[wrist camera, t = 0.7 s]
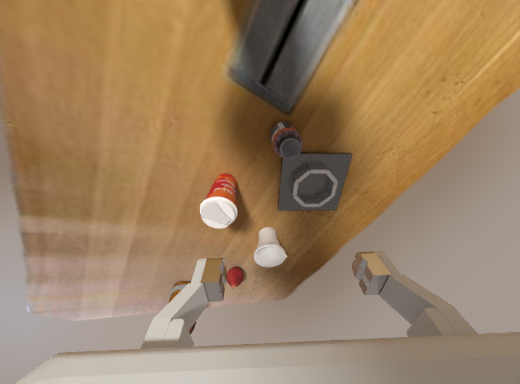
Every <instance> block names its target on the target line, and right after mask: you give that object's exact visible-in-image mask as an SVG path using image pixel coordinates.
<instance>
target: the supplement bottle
mask: <svg viewBox="0 0 520 384" xmlns="http://www.w3.org/2000/svg"><path fill="white" fill-rule="evenodd" d="M270 139H271V142H272V146H273V149H274V151H275V153H276V154H277V155H278V156H279V157H281V158H284V159H294V158H296V157H297V156H298V155H299V154H300V152H301V150H302V147H303V138H302V136H301V134H300V133H299V132H298V131H297V129H296V128H295V127H294V126H293V125H292V124H291V123H289V122H286V121H280V122H278V123H276V124H275V125H274V126H273V127H272V129H271V131H270Z"/></svg>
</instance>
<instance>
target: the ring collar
mask: <svg viewBox="0 0 520 384" xmlns="http://www.w3.org/2000/svg"><path fill="white" fill-rule="evenodd" d="M351 158H352V154H351V153H300V154H299V155H298V156H297V157H296V158H294V159H284V158H282V167H281V178H280V190H279V201H278V210H336V209H337V205H338V202H339V199H340V195H341V192H342V188H343V185H344V181H345V178H346V175H347V171H348V168H349V164H350V161H351Z"/></svg>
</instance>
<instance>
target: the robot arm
mask: <svg viewBox="0 0 520 384" xmlns="http://www.w3.org/2000/svg"><path fill="white" fill-rule="evenodd" d="M355 258H356V260H354V262H353V264H352V270H353V273H354V275H355V277H356V278H357V279H358V280H360V282H359V285H360V287H361V289H362V291H363V293H364V294H365V295H379V296H380V297H381V298H382V299H384V300H385V301H386V302H387V303H388V304H389V305H390V306H391V307H392V308H394V309H395V310H396V311H397V312H398V313H399V314H400V315H401V316H402V317H404V318H405V319H406V320H407V321H408V322H409V323H410V324H411V327H410V328H409V329H408V330H407V335H408V337H399V338H378V339H355V340H354V339H353V340H331V341H309V342H287V343H265V344H243V345H221V346H199V347H193V345H194V342H193V340H192V337H191V335H190V333H189V330H190V329H191V327H192V326H193V324H194V323H195V321H196V320H197V319H198V317H199V316H200V314H201V313H202V311H203V310H204V309H205V307H206V306H207V304H208V303H209V302H213V301H223V298H224V292H225V288H224V284H225V283H226V273H227V272H226V266H225V260H224V258H200V259H199V260H198V261H197V264H196V268H195V271H194V274H193V277H192V281H191V284H187V285H186V286H185V287H184V288H183V289H182V290H181V291H180V292H179V293H178V294H177V295H176V296H175V297H174V298H173V299H172V300H171V301H170V302H169V303H168V304H167V305H166V306H165V307H164V308H163V309H162V310H161V311H160V312H159V314H158V315H157V316H156V317H155V318H154V319H153V320H152V323H151V325H150V327H149V330H148V333H147V334H146V337H145V340H144V342H143V344H142V347H141V349H133V350H111V351H91V352H90V351H89V352H66V353H60V354H57V355H54V356H52V357H51V358H49V359H48V360H46V361H45V362H44V363H42V364H41V365H39V366H38V367H37V368H35V369H34V370H32V371H31V372H30V373H28V374H27V375H26V376H25V377H23V378H22V379H21V380H19V381H18V382H17V383H15V384H520V332H511V333H510V332H509V333H486V334H477V332H476V331H475V330H474V329H473V328H472V327H471V326H470V324H469V323H468V322H467V321H466V320H465V319H464V318H463V317H462V315H461V314H460V313H459V312H458V311H457V310H456V309H455V307H453V306H452V305H451V304H449V303H448V302H446V301H444V300H443V299H441V298H440V297H438V296H436V295H435V294H433V293H432V292H430V291H428V290H427V289H425V288H424V287H422V286H421V285H419V284H418V283H416V282H414V281H413V280H411V279H410V278H408V277H406V276H405V275H401V274H400V272H399V271H398V270H397V269H396V267H395V266H394V265H393V263H392V262H391V261H390V259H389V258H388V257H387V255H386V254H385V253H384V252H358V253H356V255H355Z"/></svg>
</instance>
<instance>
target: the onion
mask: <svg viewBox="0 0 520 384" xmlns="http://www.w3.org/2000/svg"><path fill="white" fill-rule="evenodd" d="M226 279H227V282H228V283H229V285H231V286H232V289H235V287H236V286H238V285H240V283H241V282H242V280H243V272H242V270H241V269H240V268H238V267H233V268H231V269H230V270H229V271H228V272H227V275H226Z"/></svg>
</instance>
